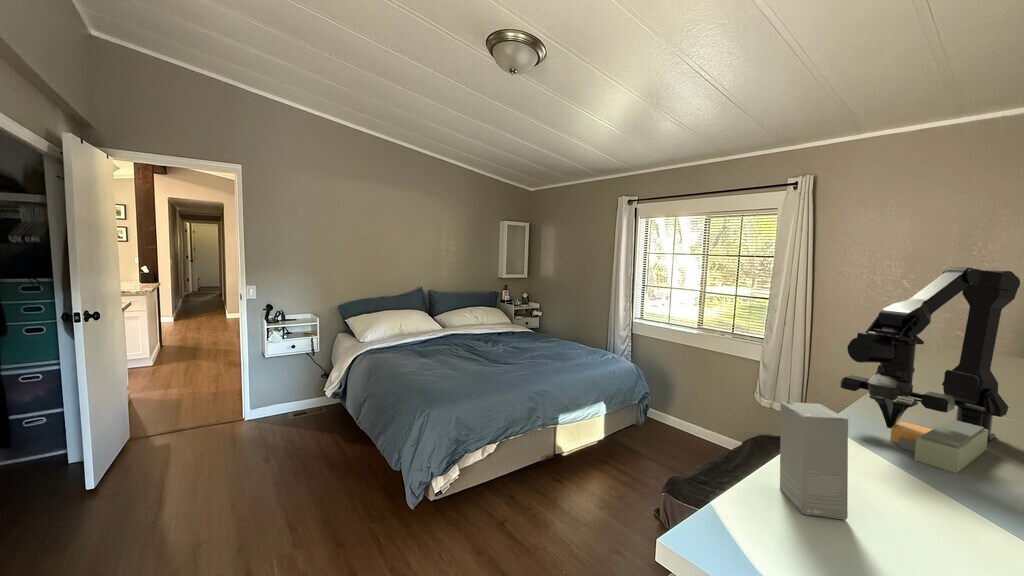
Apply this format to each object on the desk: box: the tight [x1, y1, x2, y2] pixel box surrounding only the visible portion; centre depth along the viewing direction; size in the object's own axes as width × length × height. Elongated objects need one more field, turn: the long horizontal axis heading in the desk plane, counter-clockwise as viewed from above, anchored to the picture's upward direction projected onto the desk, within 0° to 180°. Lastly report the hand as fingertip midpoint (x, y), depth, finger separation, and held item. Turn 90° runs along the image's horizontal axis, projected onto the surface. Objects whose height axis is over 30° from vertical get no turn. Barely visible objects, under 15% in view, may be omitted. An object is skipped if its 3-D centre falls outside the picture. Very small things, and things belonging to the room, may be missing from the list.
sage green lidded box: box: [897, 419, 988, 474], centre depth 88 cm, size 22×10×5 cm, turn 121°
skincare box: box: [779, 401, 849, 521], centre depth 66 cm, size 8×7×16 cm
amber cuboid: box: [889, 421, 934, 444], centre depth 92 cm, size 7×6×4 cm
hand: (890, 428), depth 95 cm, fingers closed
